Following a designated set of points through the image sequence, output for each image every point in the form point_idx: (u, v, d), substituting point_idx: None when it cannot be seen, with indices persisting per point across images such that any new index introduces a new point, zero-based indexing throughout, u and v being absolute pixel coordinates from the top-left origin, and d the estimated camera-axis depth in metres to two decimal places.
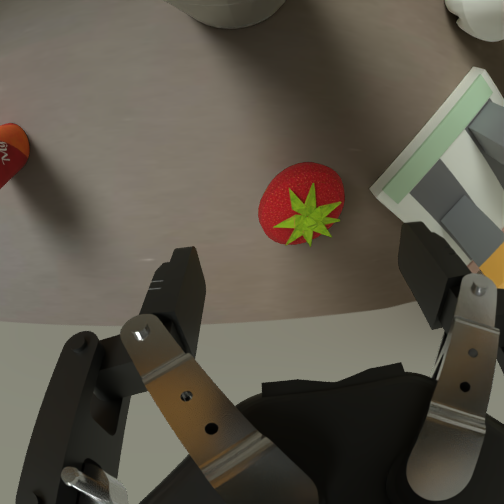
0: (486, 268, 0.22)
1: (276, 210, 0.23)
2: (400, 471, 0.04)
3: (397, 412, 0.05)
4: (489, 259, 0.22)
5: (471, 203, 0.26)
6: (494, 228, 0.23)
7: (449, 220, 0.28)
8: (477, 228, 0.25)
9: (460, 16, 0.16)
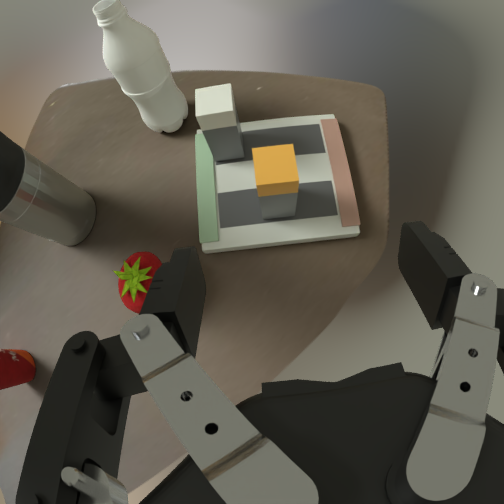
0: None
1: (121, 289, 0.35)
2: (400, 471, 0.04)
3: (397, 412, 0.05)
4: None
5: None
6: None
7: None
8: None
9: (157, 128, 0.43)
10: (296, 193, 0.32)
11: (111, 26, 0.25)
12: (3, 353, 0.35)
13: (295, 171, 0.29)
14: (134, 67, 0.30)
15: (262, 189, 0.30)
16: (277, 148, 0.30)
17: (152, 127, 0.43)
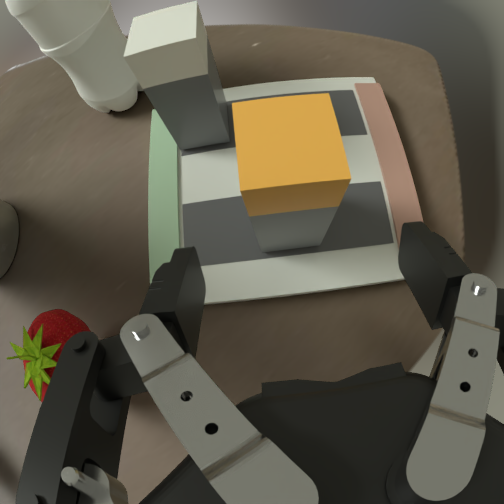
0: None
1: None
2: (400, 471, 0.04)
3: (397, 412, 0.05)
4: None
5: None
6: None
7: None
8: None
9: (97, 105, 0.26)
10: (335, 208, 0.14)
11: None
12: None
13: (340, 155, 0.11)
14: (42, 1, 0.12)
15: (257, 200, 0.12)
16: (293, 102, 0.12)
17: (91, 104, 0.26)
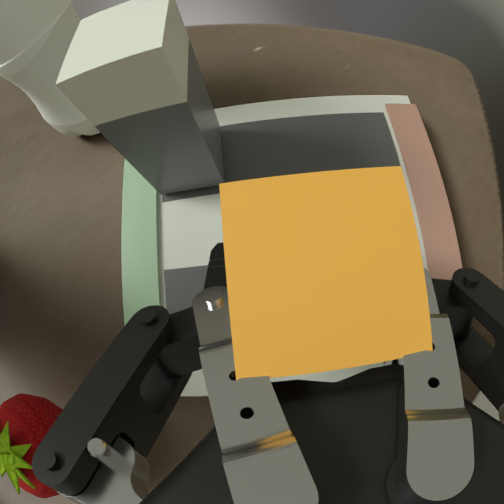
0: None
1: None
2: (400, 471, 0.04)
3: (397, 412, 0.05)
4: None
5: None
6: None
7: None
8: None
9: (63, 129, 0.20)
10: None
11: None
12: None
13: (419, 305, 0.06)
14: None
15: None
16: (338, 186, 0.06)
17: (57, 128, 0.20)
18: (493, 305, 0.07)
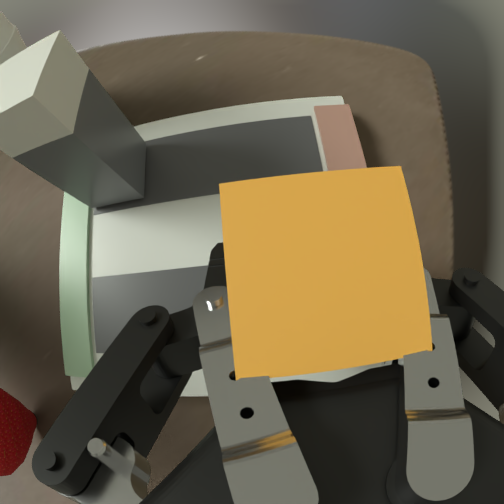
0: None
1: None
2: (400, 471, 0.04)
3: (397, 412, 0.05)
4: None
5: None
6: None
7: None
8: None
9: None
10: None
11: None
12: None
13: (419, 305, 0.06)
14: None
15: None
16: (338, 186, 0.06)
17: None
18: (493, 305, 0.07)
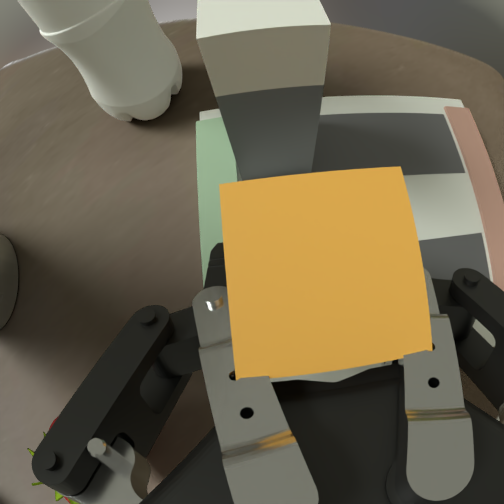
0: None
1: None
2: (400, 471, 0.04)
3: (397, 412, 0.05)
4: None
5: None
6: None
7: None
8: None
9: (118, 112, 0.20)
10: None
11: None
12: None
13: (419, 306, 0.06)
14: None
15: None
16: (338, 186, 0.06)
17: (109, 110, 0.20)
18: (493, 305, 0.07)
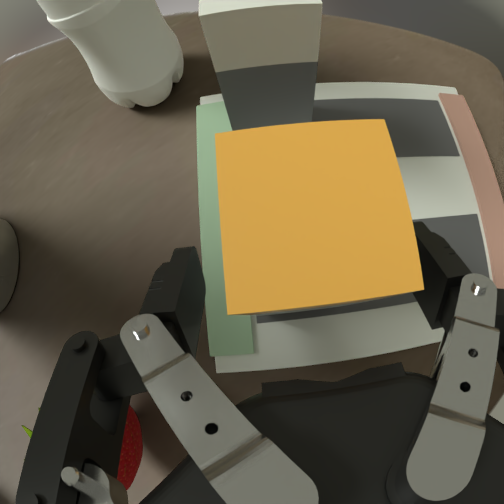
0: None
1: None
2: (400, 471, 0.04)
3: (397, 412, 0.05)
4: None
5: None
6: None
7: None
8: None
9: (120, 97, 0.20)
10: (375, 299, 0.09)
11: None
12: None
13: (408, 244, 0.06)
14: None
15: None
16: (325, 135, 0.07)
17: (112, 96, 0.20)
18: None
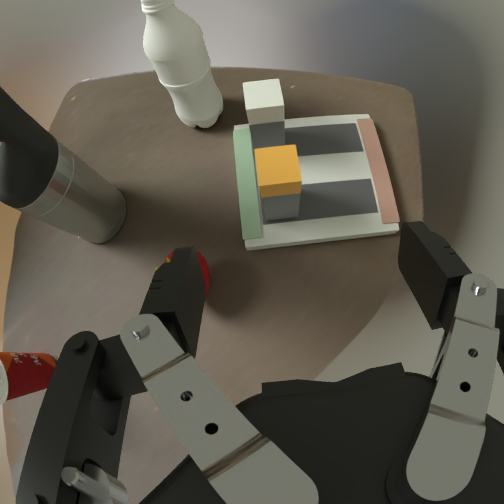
0: None
1: None
2: (400, 471, 0.04)
3: (397, 412, 0.05)
4: None
5: None
6: None
7: None
8: None
9: (192, 123, 0.43)
10: (299, 194, 0.32)
11: (158, 12, 0.25)
12: (24, 356, 0.35)
13: (298, 171, 0.29)
14: (178, 57, 0.30)
15: (265, 190, 0.30)
16: (280, 149, 0.30)
17: (187, 122, 0.43)
18: None
